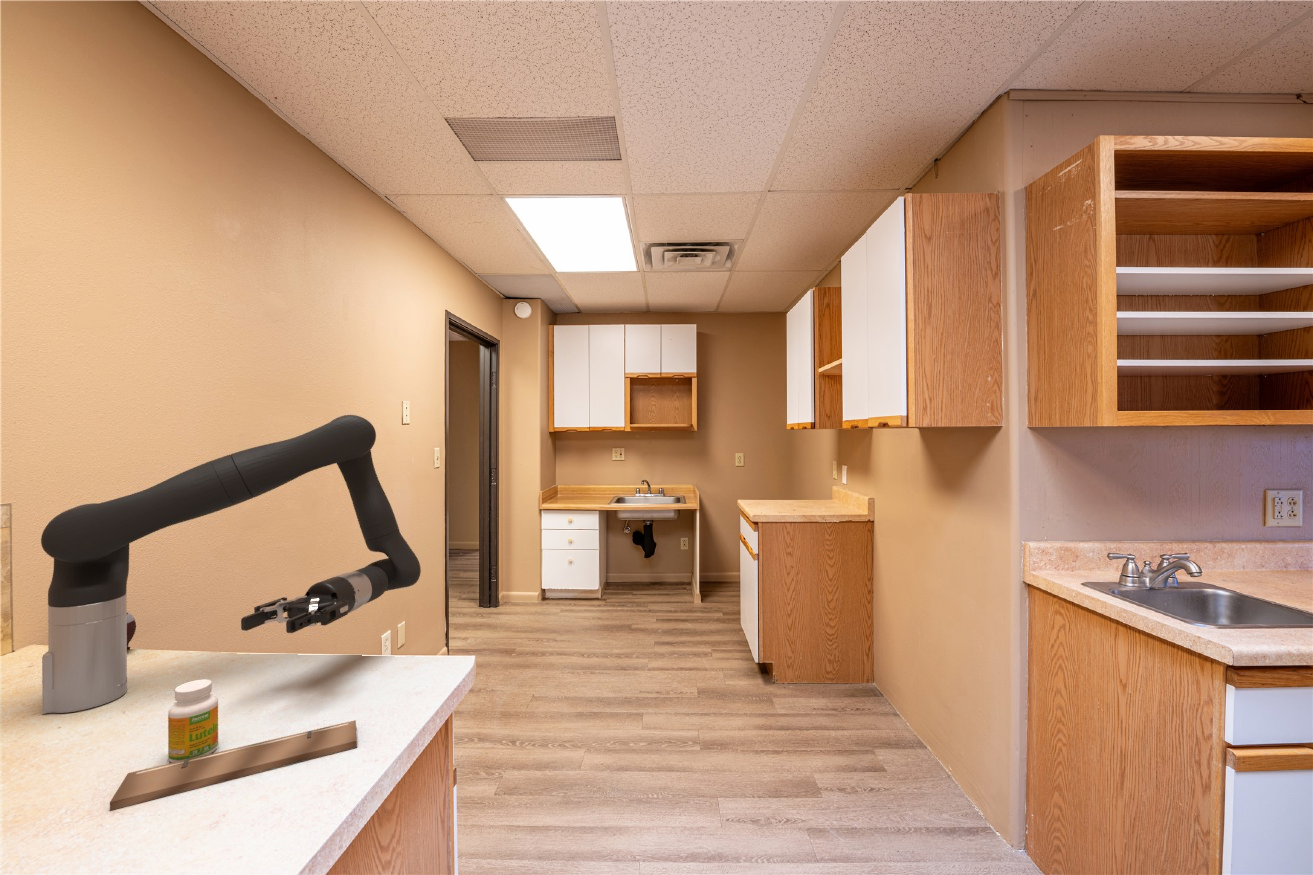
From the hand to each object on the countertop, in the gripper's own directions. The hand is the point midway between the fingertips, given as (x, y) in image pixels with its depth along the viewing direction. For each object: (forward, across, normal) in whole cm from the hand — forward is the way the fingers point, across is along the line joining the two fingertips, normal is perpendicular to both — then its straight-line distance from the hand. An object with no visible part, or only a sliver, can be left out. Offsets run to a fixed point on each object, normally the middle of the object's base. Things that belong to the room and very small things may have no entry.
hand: (265, 626), depth 88 cm
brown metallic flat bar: (+12, +9, +14) cm, 21 cm away
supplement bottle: (+12, 0, +14) cm, 18 cm away
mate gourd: (-14, -52, +14) cm, 56 cm away
